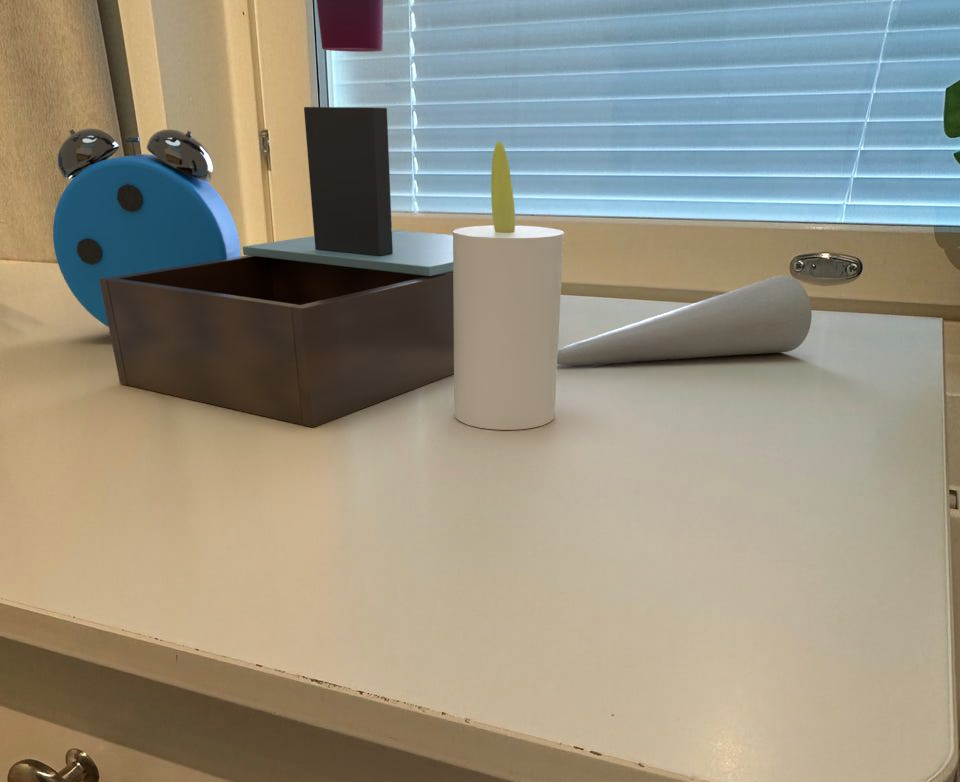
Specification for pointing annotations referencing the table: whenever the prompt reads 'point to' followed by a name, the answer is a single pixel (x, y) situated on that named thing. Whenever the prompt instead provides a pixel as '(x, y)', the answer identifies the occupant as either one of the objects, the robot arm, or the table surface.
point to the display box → (280, 334)
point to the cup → (351, 25)
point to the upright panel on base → (356, 201)
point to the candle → (506, 315)
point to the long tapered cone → (708, 328)
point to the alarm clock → (136, 211)
